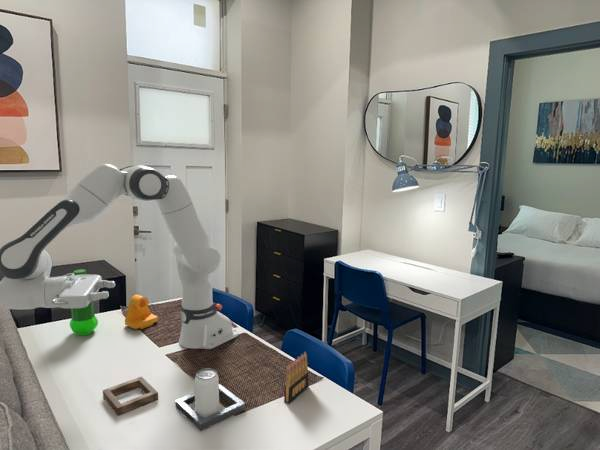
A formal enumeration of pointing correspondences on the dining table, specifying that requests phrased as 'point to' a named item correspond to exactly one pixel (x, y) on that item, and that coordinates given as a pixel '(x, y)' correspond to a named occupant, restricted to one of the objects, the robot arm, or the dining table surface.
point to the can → (206, 392)
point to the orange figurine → (139, 313)
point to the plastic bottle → (83, 315)
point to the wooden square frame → (135, 403)
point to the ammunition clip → (296, 378)
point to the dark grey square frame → (215, 418)
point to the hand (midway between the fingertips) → (111, 289)
